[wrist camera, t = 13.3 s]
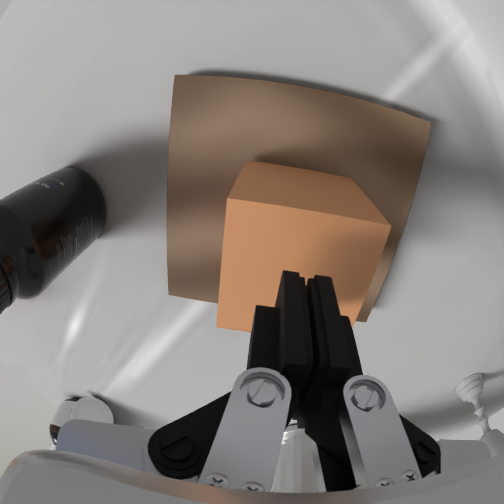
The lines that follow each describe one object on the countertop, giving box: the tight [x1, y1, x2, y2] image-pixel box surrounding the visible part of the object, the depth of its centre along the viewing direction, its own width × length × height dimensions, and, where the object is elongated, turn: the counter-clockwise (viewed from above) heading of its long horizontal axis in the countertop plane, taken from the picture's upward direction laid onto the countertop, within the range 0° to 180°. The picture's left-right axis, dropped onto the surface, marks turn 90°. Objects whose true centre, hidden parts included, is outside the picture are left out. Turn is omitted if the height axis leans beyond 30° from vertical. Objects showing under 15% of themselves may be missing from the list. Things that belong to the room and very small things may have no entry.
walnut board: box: [167, 75, 431, 322], centre depth 19 cm, size 16×16×2 cm
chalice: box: [454, 373, 504, 457], centre depth 21 cm, size 7×7×18 cm
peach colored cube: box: [217, 160, 391, 332], centre depth 15 cm, size 6×6×7 cm
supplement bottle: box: [0, 168, 106, 314], centre depth 16 cm, size 7×7×12 cm
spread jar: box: [50, 397, 113, 450], centre depth 33 cm, size 12×11×12 cm
